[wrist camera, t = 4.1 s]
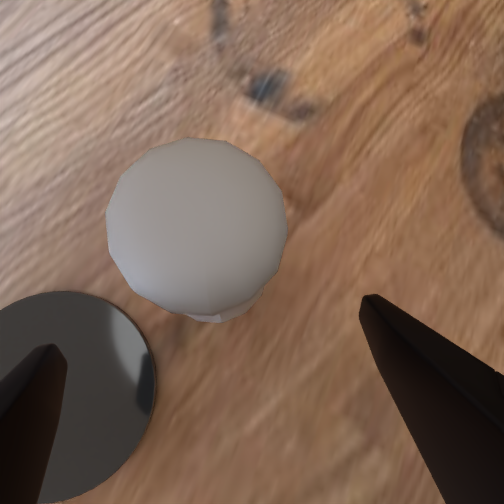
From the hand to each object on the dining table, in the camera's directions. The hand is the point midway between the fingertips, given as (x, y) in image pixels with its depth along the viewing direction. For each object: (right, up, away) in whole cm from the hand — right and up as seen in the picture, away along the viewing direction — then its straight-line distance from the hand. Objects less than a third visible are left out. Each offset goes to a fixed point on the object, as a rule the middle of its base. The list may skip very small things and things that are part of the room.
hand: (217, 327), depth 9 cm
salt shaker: (-1, +1, +10) cm, 10 cm away
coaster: (-10, -6, +8) cm, 14 cm away
